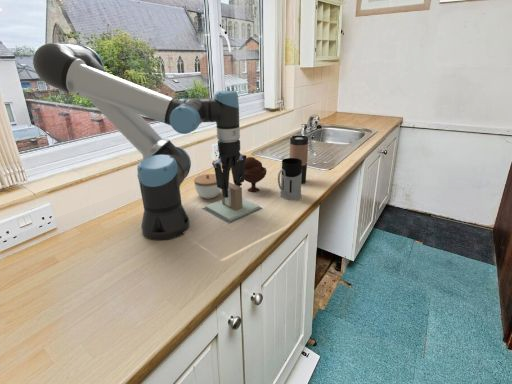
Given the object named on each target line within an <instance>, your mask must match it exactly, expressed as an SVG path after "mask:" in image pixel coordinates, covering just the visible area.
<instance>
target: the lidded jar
mask: <svg viewBox="0 0 512 384" xmlns="http://www.w3.org/2000/svg"><path fill="white" fill-rule="evenodd" d="M193 182H194V187H195V191H196V193H197V194H198V196H199V197H200V198H203V199H207V200H208V199H213V198H216V197H217V196H218V195H219V194H220V193H221V189H220V188H218V187H217V181H216V175H215V173H205V174H200V175H198V176H196V177H194V179H193Z"/></svg>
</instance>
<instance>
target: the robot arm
mask: <svg viewBox="0 0 512 384" xmlns="http://www.w3.org/2000/svg"><path fill="white" fill-rule="evenodd" d="M32 58H33V59H32V65H33V69H34V71H35V73H36V74H37V76H38V77H39V79H40V80H42V81H43V82H44V83H45V84H46V85H49V86H50V87H53V88H54V89H58V90H61V91H64V92H67V93H69V94H72V95H78V97H80V98H83V99H85V98H86V99H88V101H90V102H91V103H92V104H93V105H94V106H95V107H96V108H97V110H98V111H100V112H101V114H102V115H103V116H104V117H105V118H106V119H107V120H108V121H109V122H110V123H111V124H112V125H113V126H114V127H115V128H116V129H117V130H118V131H119V132H120V133H121V134H122V136H123V137H124V138H126V140H128V141H129V143H130V144H131V145H132V146H133V147H134V148H135V149H136V150H137V151H138V153H140V154H141V155H142V160H141V161H139V163H138V165H137V179H138V185H139V187H140V189H139V190H140V193H141V198H142V199H141V200H142V205H143V215H142V220H141V227H140V228H141V232H142V235H143V236H144V237H145V238H146V239H149V240H153V241H165V240H167V241H168V240H171V239H172V240H173V239H174V238H175V239H176V238H177V237H179V236H182V235H184V234H185V232H186V231H187V230H188V229H189V228H190V224H191V223H190V219H189V215H188V214H187V211H186V210H185V208H184V206H183V204H182V197H181V185H182V184H183V182H184V181H185V179H186V178H187V177H188V175H189V173H190V170H191V166H192V161H191V157H190V156H189V154H188V152H187V151H186V150H184V149H183V148H182V147H179V146H176V145H175V144H174V143H173V142H172V141H171V140H170V139H167V138H166V139H165V138H162V137H161V136H160V135H159V134H158V132H157V131H156V130H155V129H154V128H153V127H152V126H151V125H150V124H149V123H148V122H147V121H146V120H145V119H144V118H143V117H146V118H149V119H152V120H155V121H157V122H159V123H163V124H166V125H168V126H170V127H171V128H172V129H173V130H174V131H175V132H177V133H179V134H181V135H187V134H190V133H192V132H194V131H196V130H197V129H198V127H199V126H200V125H201V124H202V123H215V124H216V138H217V151H218V154H219V155H218V159H217V160H216V161H213V162H212V163H211V164H212V166H213V168H214V174H215V175H216V181H217V187H218V188H220V189H223V197H225V204H226V205H228V206H231V192H230V189H229V188H228V187H229V182H230V172H231V176H232V180H233V181H232V182H233V184H234V185H237V186H239V187H242V185H243V183H244V182H245V180H244V175H245V160H246V158H247V155H246V154H243V153H241V152H240V151H241V140H240V137H241V133H240V132H241V130H240V105H239V95H238V93H237V91H234V90H218V91H215V92H214V96H213V97H212V98H211V97H209V98H207V97H206V98H202V97H201V98H199V97H198V98H193V97H191V98H190V97H186V98H180V99H176V98H174V97H171V96H170V95H167V94H163V93H161V92H159V91H156V90H153V89H150V88H148V87H145V86H142V85H140V84H138V83H135V82H131V81H129V80H126V79H123V78H121V77H118V76H117V75H116V76H115V75H113V74H110V73H109V72H108V71H107V70H106V69H105V68H104V63H103V60H102V58H101V57H100V55H99V54H98V53H97V52H96V51H95V50H94V49H92V48H90V47H89V46H87V45H83V44H80V43H59V42H58V43H57V42H49V43H46V44H43V45H41V46H40V47H38V48H37V49H36V51H35V52H34V55H33V57H32Z"/></svg>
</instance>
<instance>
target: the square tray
mask: <svg viewBox="0 0 512 384" xmlns="http://www.w3.org/2000/svg"><path fill="white" fill-rule="evenodd" d="M201 209H202V210H204V211H205V212H207V213H209V214H211V215H213V216H214V217H216V218H218V219H220V220H221V221H223V222H225V223H228V224H232V223H234V222H236V221H238V220H240V219H243V218H245V217H248V216H249V215H251V214H254V213H256V212H260V211H261V210H263V209H264V207H261V206H259V209H257V210H255V211H252V212H250V213H248V214H245V215H243V216H241V217H239V218H236V219H234V220H232V221H228V220H226V219H224V218H222V217H220V216H218V215H217V214H215V213H213V212H211V211H209V210H208V209H206V208H205V206H204V207H202V208H201Z"/></svg>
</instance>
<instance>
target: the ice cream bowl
mask: <svg viewBox="0 0 512 384" xmlns="http://www.w3.org/2000/svg"><path fill="white" fill-rule="evenodd" d="M266 175H267V168H266V167H264V166H263V163H262V162H261V161H260V160H258V159H257V158H255V157H253V156H248V157H246V160H245V175H244V182H247V183H250V184H251V185H250V186H251V187H250V188H247V192H249V193H252V194H253V193H258V192H260V188H258V187H256V184H257V183H259V182H260V181H262V180H263V179H264V178H265V177H266Z"/></svg>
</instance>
